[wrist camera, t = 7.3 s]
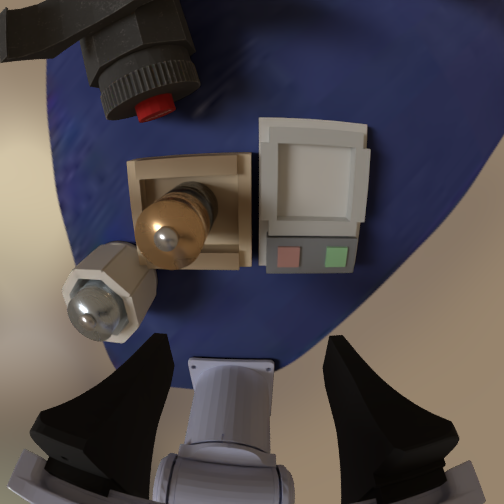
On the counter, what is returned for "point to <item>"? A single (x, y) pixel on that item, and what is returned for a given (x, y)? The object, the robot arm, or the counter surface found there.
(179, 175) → the tan square tray
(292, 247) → the cradle
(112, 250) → the cup
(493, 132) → the counter surface
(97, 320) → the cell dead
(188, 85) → the laser sight
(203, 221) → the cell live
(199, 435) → the robot arm
